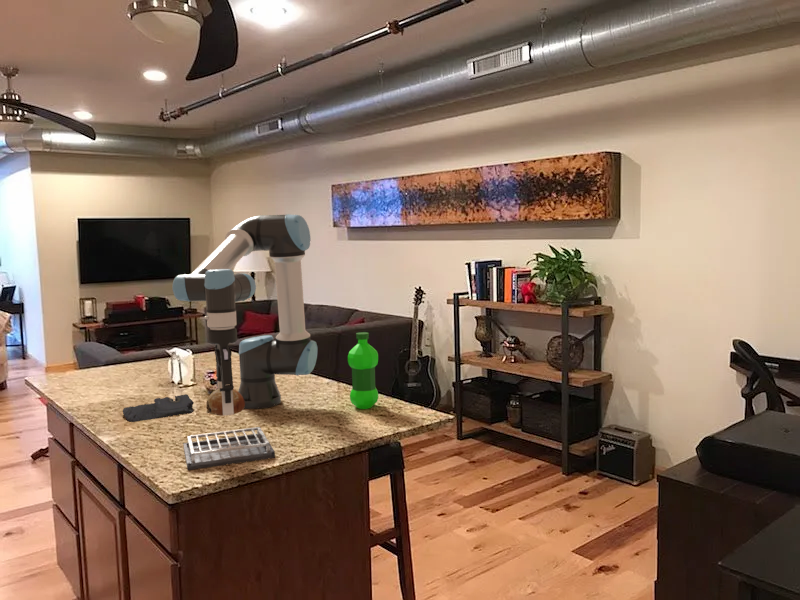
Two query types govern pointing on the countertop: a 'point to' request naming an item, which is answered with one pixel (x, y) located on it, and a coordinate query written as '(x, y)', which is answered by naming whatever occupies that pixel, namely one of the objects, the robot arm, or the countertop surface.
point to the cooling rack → (227, 449)
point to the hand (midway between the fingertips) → (225, 409)
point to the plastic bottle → (363, 373)
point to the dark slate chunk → (159, 408)
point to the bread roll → (216, 402)
